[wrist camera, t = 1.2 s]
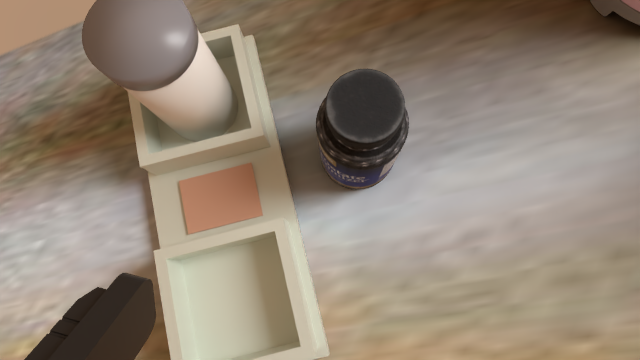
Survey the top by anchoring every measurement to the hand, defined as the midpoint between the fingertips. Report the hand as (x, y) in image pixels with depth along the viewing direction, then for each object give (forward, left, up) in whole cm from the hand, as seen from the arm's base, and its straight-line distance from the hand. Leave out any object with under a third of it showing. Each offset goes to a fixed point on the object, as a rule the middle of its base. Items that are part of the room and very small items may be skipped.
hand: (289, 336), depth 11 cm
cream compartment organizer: (+11, 0, -22) cm, 25 cm away
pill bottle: (+5, -10, -23) cm, 25 cm away
